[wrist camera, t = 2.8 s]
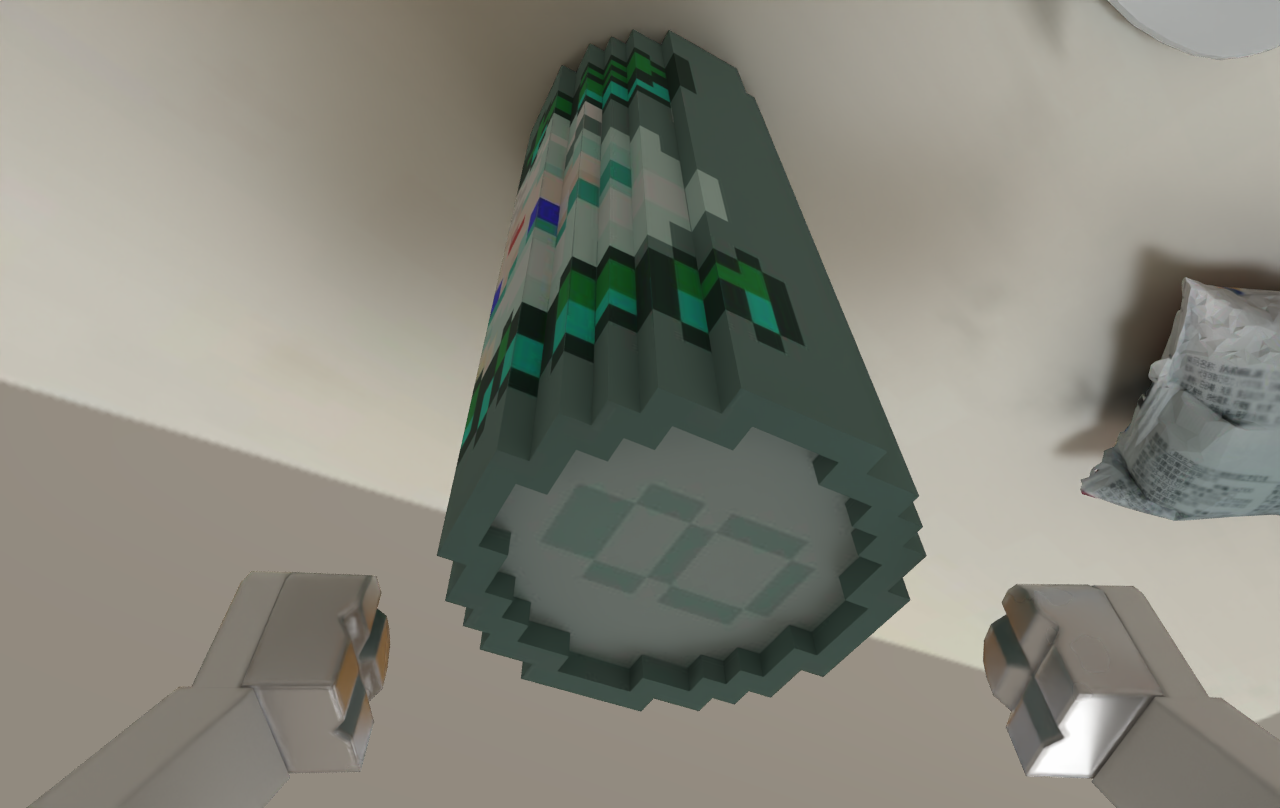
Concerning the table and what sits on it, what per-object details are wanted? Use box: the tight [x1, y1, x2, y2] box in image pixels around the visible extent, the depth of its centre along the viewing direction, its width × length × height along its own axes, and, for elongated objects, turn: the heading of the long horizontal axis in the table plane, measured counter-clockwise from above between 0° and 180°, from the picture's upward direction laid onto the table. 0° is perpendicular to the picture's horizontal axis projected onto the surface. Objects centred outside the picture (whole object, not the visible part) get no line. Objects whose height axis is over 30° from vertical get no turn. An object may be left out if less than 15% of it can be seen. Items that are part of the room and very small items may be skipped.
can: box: [437, 29, 926, 711], centre depth 17 cm, size 6×6×15 cm
